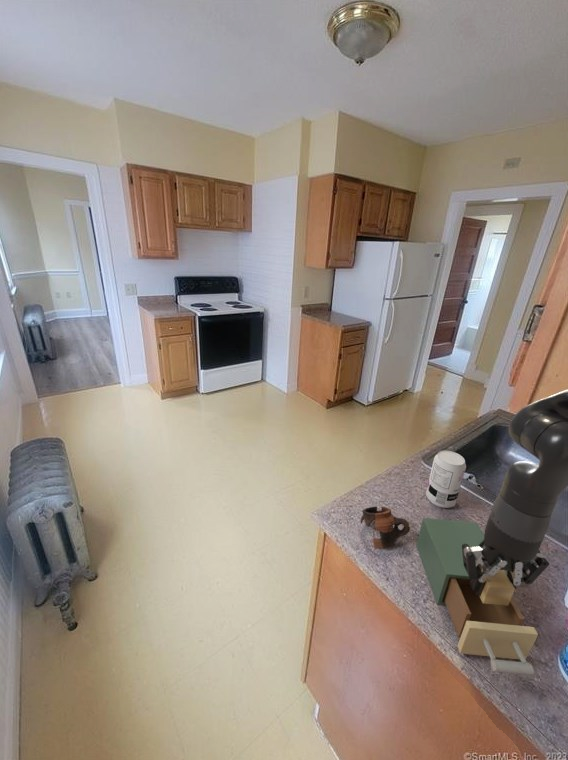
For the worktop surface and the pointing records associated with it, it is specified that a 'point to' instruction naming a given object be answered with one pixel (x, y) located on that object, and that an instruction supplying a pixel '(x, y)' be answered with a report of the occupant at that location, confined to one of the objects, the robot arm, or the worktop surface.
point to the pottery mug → (385, 526)
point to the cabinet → (445, 551)
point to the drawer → (489, 628)
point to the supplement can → (445, 479)
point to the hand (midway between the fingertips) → (489, 591)
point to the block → (497, 589)
